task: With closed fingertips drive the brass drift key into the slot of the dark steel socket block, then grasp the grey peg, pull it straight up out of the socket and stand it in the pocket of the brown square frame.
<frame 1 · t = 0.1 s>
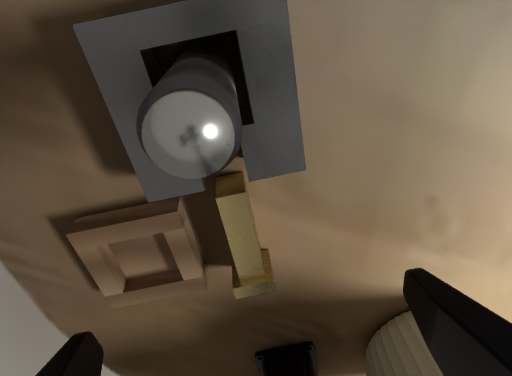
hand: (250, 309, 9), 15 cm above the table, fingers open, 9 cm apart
grey peg: (204, 76, 19), resting in socket block
brown square frame: (147, 246, 26), on the table
socket block: (208, 92, 20), on the table
canister: (415, 334, 36), on the table
drift key: (243, 236, 24), point 2 cm above the table, slide at 0.0 cm
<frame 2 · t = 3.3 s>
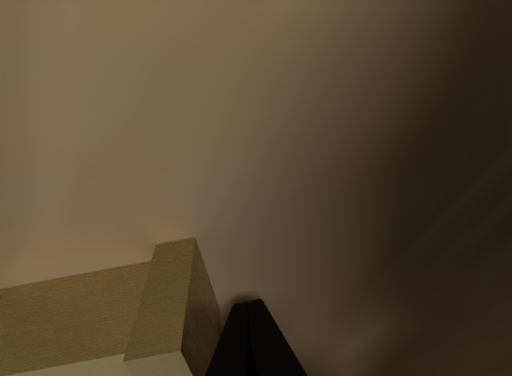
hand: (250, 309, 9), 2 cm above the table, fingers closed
drift key: (46, 352, 9), point 2 cm above the table, slide at 0.1 cm, touching gripper
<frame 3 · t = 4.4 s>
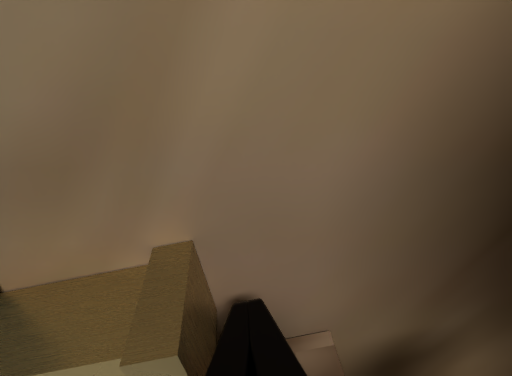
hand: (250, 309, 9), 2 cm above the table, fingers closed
drift key: (42, 357, 9), point 2 cm above the table, slide at 3.9 cm, touching gripper
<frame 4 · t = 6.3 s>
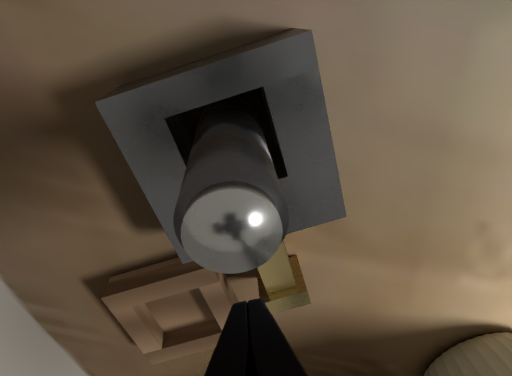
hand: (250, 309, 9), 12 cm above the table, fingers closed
grey peg: (229, 127, 19), resting in socket block
brown square frame: (182, 298, 25), on the table
socket block: (234, 143, 19), on the table
canister: (473, 363, 33), on the table
drift key: (267, 242, 21), point 2 cm above the table, slide at 3.9 cm
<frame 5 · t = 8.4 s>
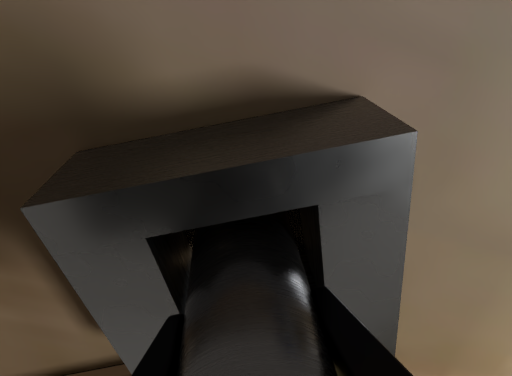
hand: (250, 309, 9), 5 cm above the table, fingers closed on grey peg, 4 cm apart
grey peg: (241, 216, 13), resting in socket block, touching gripper
socket block: (245, 236, 13), on the table
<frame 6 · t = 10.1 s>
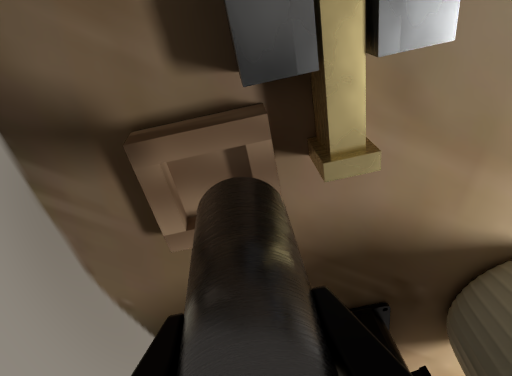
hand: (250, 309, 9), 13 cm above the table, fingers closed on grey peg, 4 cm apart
grey peg: (241, 215, 13), point 8 cm above the table, touching gripper
brown square frame: (214, 175, 21), on the table
canister: (501, 294, 31), on the table
drift key: (338, 88, 17), point 2 cm above the table, slide at 3.9 cm
when the fingers open (6 cm above the table, at t = 11.9 s): grey peg stays where it is, resting on brown square frame.
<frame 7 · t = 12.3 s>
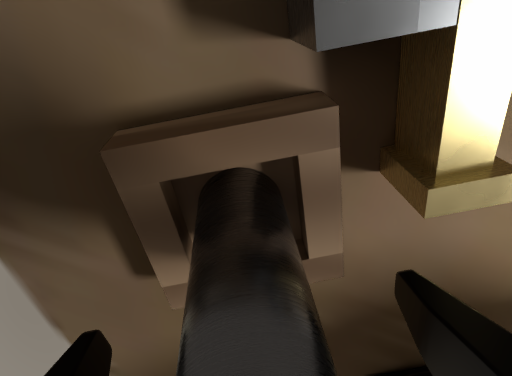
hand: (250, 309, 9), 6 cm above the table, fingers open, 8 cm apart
grey peg: (240, 205, 14), point 1 cm above the table, touching brown square frame
brown square frame: (239, 197, 14), on the table
drift key: (456, 67, 10), point 2 cm above the table, slide at 3.9 cm
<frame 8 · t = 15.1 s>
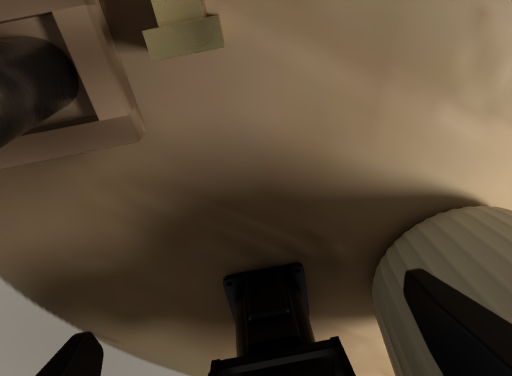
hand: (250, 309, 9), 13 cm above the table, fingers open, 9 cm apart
grey peg: (41, 75, 16), point 1 cm above the table, touching brown square frame
brown square frame: (46, 73, 17), on the table
canister: (438, 259, 27), on the table
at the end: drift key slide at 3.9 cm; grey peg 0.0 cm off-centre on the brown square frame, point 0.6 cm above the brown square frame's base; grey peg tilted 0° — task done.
